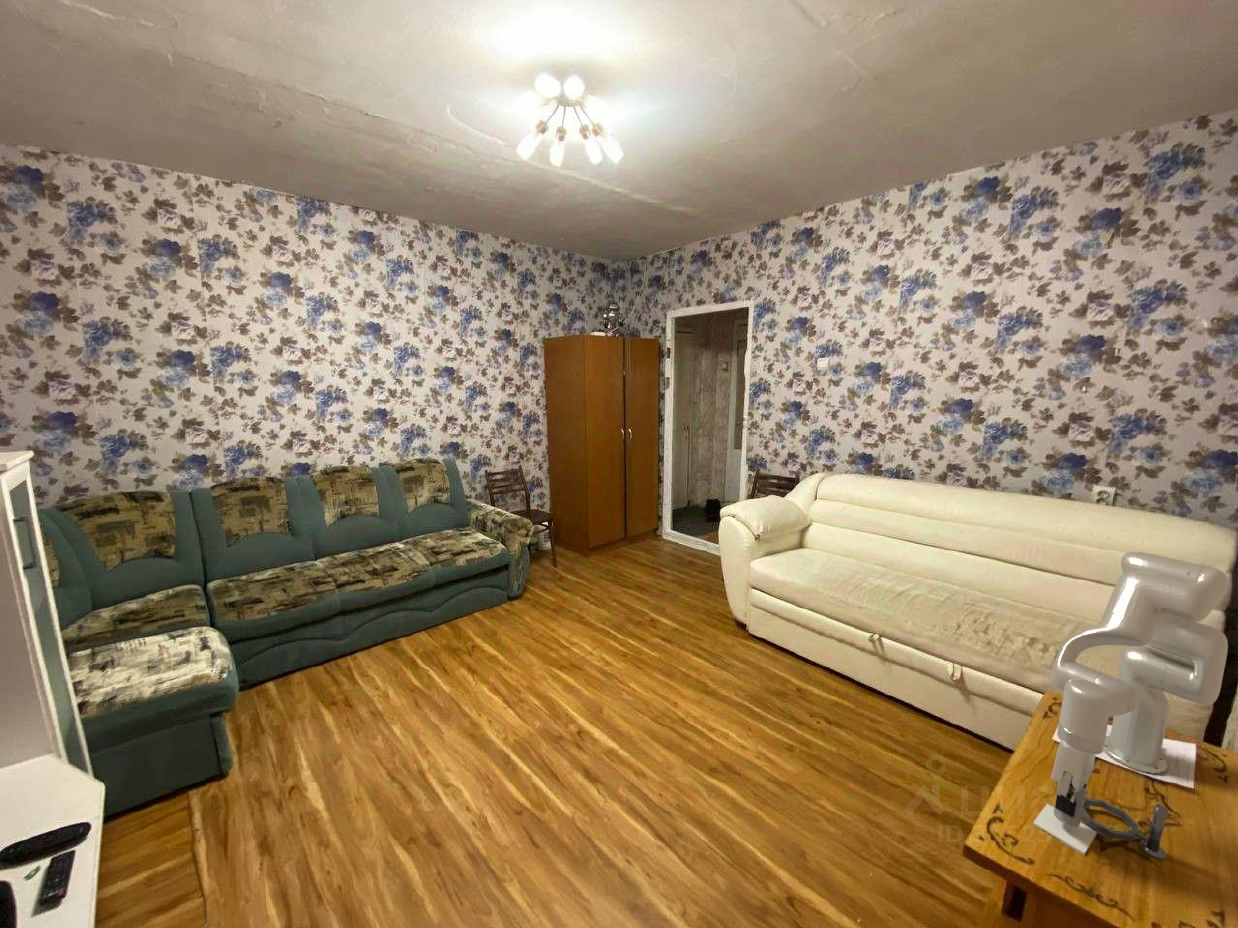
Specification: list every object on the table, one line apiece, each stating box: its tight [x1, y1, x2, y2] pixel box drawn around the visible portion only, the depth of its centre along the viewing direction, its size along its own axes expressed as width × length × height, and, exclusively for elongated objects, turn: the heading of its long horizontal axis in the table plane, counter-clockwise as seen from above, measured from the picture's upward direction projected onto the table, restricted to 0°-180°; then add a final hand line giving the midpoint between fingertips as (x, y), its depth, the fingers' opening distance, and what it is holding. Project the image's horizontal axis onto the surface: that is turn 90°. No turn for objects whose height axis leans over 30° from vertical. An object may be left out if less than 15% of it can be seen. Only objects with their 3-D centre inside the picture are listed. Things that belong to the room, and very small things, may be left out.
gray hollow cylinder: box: [1053, 780, 1088, 827], centre depth 112 cm, size 4×4×10 cm
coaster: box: [1032, 803, 1098, 856], centre depth 113 cm, size 9×9×1 cm
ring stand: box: [1081, 797, 1168, 860], centre depth 111 cm, size 10×14×11 cm
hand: (1068, 805), depth 112 cm, fingers closed on gray hollow cylinder, 4 cm apart
